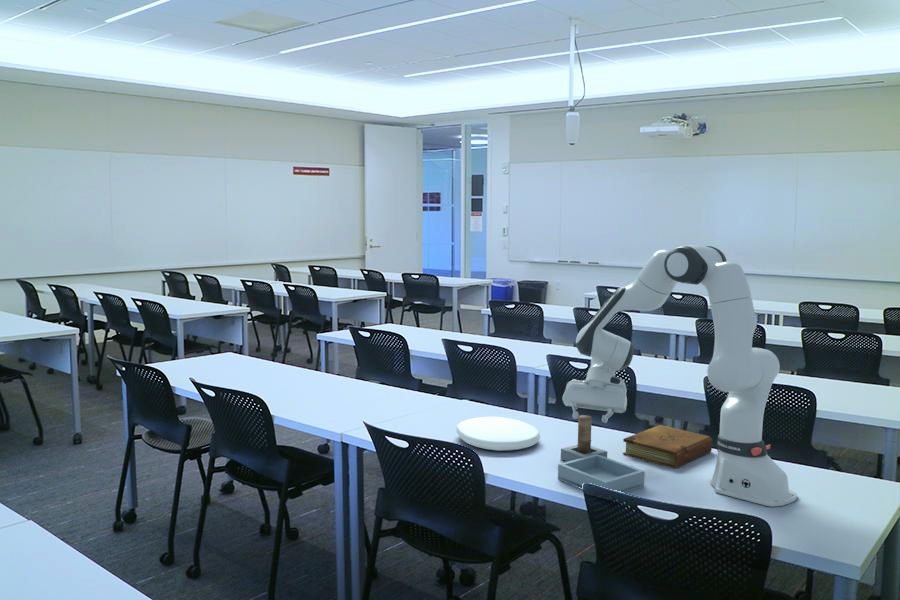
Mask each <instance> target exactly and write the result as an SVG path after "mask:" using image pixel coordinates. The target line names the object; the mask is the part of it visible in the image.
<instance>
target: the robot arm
mask: <svg viewBox="0 0 900 600" xmlns="http://www.w3.org/2000/svg"><path fill="white" fill-rule="evenodd" d="M677 283H681V284H687V285H699V284H701V285H702V286H704V288H705V289H706V291H707V294H708V299H709V305H710V311H711V315H712V322H713V328H714V346H713V354H712V357H711V360H710V362H709V364H708V366H707V369H706V370H707V374H706V375H707V378H708V381H709V383H710V384H711V386H712V387H713V388H714V389H715V390H718V391H720V392H723V393H728V395H727V397H726V399H725V401H724V402H723V404H722V405H721V408H720V417H719V418H720V420H719V421H720V422H719V434H718V435H717V444H716V450H717V458H716V463H715V467H714V468H715V469H714V471H713V474H712V477H711V480H710V484H711V486H713V488H714V489H715V490H714V491H715V492H716V493H717V494H720V495H721V494H722V495H725V496H729V497H733V498H736V499H740V500H744V501H747V502H751V503H754V504H758V505H763V506H767V507H780V506H785V505H789V504H791V503H793V502H795V501H796V500H797V499H798V493H797V492H796V491H794V490H792V489H790V488H789V487H790V486H789V479H788V476H787V474H786V472H785V470H783V469H782V468H781V467H780V466H779V465H778V464H777V463H776V462H775V461H774V460H773V459H772V458H771V457H770V456H769V455H768V451H767V450H770V449H771V445H772V444H767V445H766V444H765V442H764V440H763V438H762V437H763V424H764V423H763V422H764V414H765V408H766V404H767V403H768V402H767V401H768V398H769V396H770V395H769V394H770V391H771V388H772V385H773V383H774V381H775V379H776V378H777V376H778V375H779V372H780V367H781V366H780V365H781V364H780V361H779V359H778V356H776V354H775V353H774V352H773V351H771V350H770V349H765V348H761V347H753V337H754V332H755V330H756V328H757V322H758V321H757V319H756V318H757V317H756V313H755V308H754V303H753V297H752V294H751V289H750V285H749V283H748V279H747V277H746V274H745V271H744V270H743V268H742V266H741V265H740V264H738V263H736V262H734V261H727V257H726V256H725V254H724V252H722V251H721V250H720V249H718V248H717V247H715V246H709V245H707V246H706V245H701V244H690V245H689V244H688V245H680V246H676V247H674V248H673V249H671V250H669V249H659V250H657V251H655V252H654V253H653V254H652V255H651V257H650V258H649V259H648V260H647V261H646V263H645V264H644V266H643V267H642V268H641V270H640V271H639V273H638V275H637V277H635V279H634V280H632V282H631V283H628V284H627V285H626V286H619V287H618V288H617V289H616V290H615V291H614V292H613V293H612V294H611V295H610V296H609V297H608V298H607V299H606V301H605V302H604V303H603V304H602V306H601V307H600V308H599V309H598V310H597V312H596V313H595V314H594V315H593V316H592V318H591V319H590V320H589V321H588V322H587V323H585V324H584V326H583V327H582V328H581V329H580V330H579V332H578V334H577V336H576V339H575V341H574V343H575V346H576V349H577V351H578V352H579V354H580V355H583V356H586V357H589V358H591V360H590V367H589V368H588V370H587V373H586V378H585V380H577V379H572V380H570V381H568V382H566V386H565V390H564V393H563V395H562V403H563V404H564V405H565V407H571V409H572V414H571V415H572V419H576V420H577V419H578V416H580V414H579V411H576V410H578V408H579V409H589V410H594V411H595V410H596V411H603V412H607V413H606V414H602V415H601V423H605V424H607V423H608V422H609V421H608V420H609V419H610V417H612V416H613V415H614V413H619V414H623V413H625V412H626V411H627V406H628V398H627V385H626V382H625V381H624V380H623V379H622V378H619V377H617V376H615V375H616V372H617V371H618V372H620V371H622V370H624V369H626V368H628V367H629V366H630V364H631V362H632V361H633V357H634V353H635V349H634V346H633V345H634V344H632V342H631V341H630V340H628V339H626V338H624V337H622V336H619V335H616V334H615V333H612V332H609V331H607V330H605V329H604V327H605V326H606V325H607V324H608V323H609V321H610V320H611V319H612V317H614V316H615V314H617V313H619V312H622V311H639V312H648V311H654V310H657V309H659V308H661V307H662V306H663V305H664V304H665V303H666V301H667V300H668V298H669V297H670V296H671V293H672V292H673V290H674V288H675V286H676V285H677Z"/></svg>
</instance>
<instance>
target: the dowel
mask: <svg viewBox="0 0 900 600" xmlns="http://www.w3.org/2000/svg"><path fill="white" fill-rule="evenodd" d="M592 419H593V418H592V416H591V415H586V414H585V415H584V414H581V415H579V416H578V421H577V424H578V427H577V445H578V449H577V452H579V453H582V454H588V453H591V446H592V421H593V420H592Z"/></svg>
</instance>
